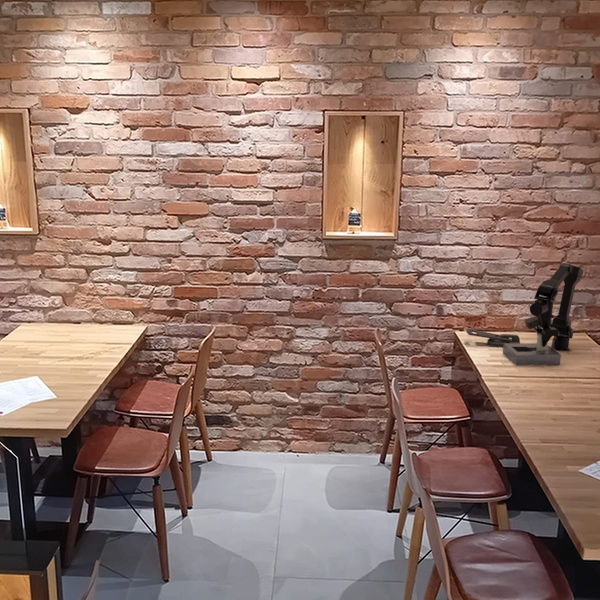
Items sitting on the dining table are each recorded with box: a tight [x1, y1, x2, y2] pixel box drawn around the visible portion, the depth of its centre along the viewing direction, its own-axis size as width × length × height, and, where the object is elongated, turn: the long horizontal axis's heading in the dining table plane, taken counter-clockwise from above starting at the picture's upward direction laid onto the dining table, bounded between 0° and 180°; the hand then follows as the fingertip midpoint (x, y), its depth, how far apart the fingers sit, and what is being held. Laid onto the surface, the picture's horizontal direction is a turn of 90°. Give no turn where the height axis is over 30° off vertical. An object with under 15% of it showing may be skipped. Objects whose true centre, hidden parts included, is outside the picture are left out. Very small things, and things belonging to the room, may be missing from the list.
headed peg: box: [536, 334, 548, 351], centre depth 323 cm, size 5×5×10 cm
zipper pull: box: [466, 328, 521, 349], centre depth 342 cm, size 9×7×25 cm
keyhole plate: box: [502, 342, 562, 366], centre depth 323 cm, size 20×16×5 cm
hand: (541, 345), depth 323 cm, fingers closed on headed peg, 3 cm apart
